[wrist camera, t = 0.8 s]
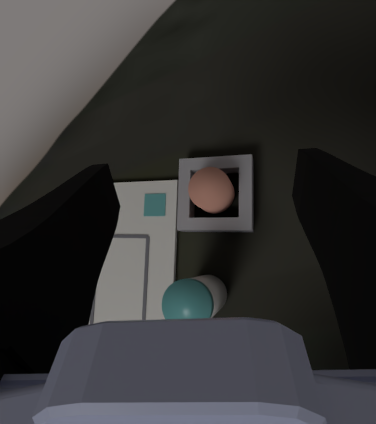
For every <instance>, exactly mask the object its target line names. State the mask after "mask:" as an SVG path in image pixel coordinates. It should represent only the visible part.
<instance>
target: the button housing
mask: <svg viewBox="0 0 376 424" xmlns="http://www.w3.org/2000/svg"><path fill="white" fill-rule="evenodd" d="M205 167H215V168H218V169H220V170H222V171H223V172H224V173H225V174H227V173H239V217H227V218H194V210H195V204H194V203H193V202H192V200H191V199H190V196H189V193H188V185H189V182H190V179H191V178H192V176H193V175H194V174H195V173H196V172H197V171H198V170H200V169H202V168H205ZM177 230H179V231H182V232H254V195H253V157H252V154H248V155H233V156H218V157H203V158H188V159H179V184H178V212H177Z"/></svg>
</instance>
